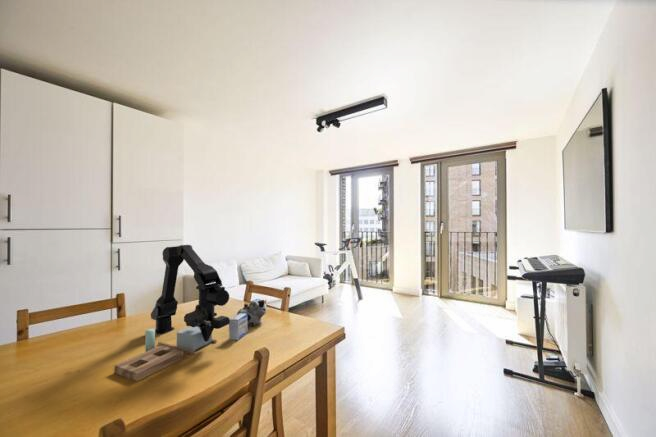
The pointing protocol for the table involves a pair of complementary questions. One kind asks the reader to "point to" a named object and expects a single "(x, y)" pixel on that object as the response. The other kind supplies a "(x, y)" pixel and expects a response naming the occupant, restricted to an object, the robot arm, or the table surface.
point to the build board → (148, 362)
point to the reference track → (183, 348)
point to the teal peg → (149, 339)
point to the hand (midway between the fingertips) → (206, 341)
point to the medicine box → (238, 326)
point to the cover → (191, 338)
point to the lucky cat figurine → (254, 311)
